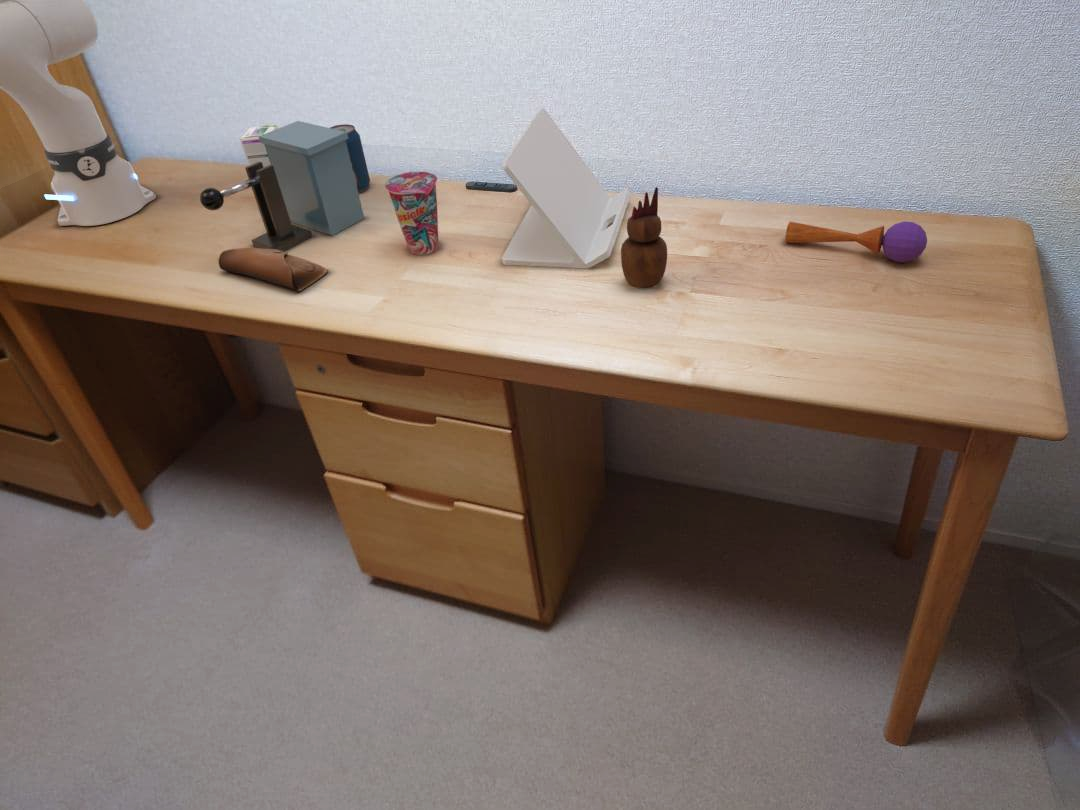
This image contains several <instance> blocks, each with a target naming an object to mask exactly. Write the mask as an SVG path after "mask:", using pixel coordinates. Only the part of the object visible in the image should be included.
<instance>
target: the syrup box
mask: <svg viewBox="0 0 1080 810" xmlns="http://www.w3.org/2000/svg"><path fill="white" fill-rule="evenodd" d="M278 128H279V126H278V125H271V124H269V125H268V124H267V125H257V126H253V127H249V128H248V130H247V131H246V132H245V133H244V134H243V135H242V136H241V137H240V138H239V141H240V144H241V147H242V150H243V153H244V156H245V158H246V161H247V166H250V165H252V164H255V163H257V162H262V164H263V167H266V166H268V165H271V164H270V161H269V158H268V155H267V152H266V148H265V145H264V144H263V143H260V140H259V136H261V135H263V134H266V133H268V132H271V131H273V130H276V129H278Z"/></svg>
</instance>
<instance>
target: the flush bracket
mask: <svg viewBox="0 0 1080 810" xmlns="http://www.w3.org/2000/svg"><path fill="white" fill-rule="evenodd" d="M244 169H245V172H246V175H247V178H248V180H249V179H251V178H253V177H255V174H256V172H257V175H258V178H259V182H260V183H259V184H256V185H254V186H252V187H251V190H252V193H253V195H254V199H255V202H256V205H257V209H258V210H259V215H260V217H261V220H262V223H263V226H264V229H265V233H263V234H261V235H259V236H257V237H255V238H253V239H251V243H252V245H253V247H254V248H263V249H276V250H281V251H284V252H287V250H289V249H292V248H294V247H295V246H297V245H299V244H301V243H303V242H305V241H307V240H309V239H311V238H313V233H312V230H310V229H307V228H305V227H301V226H300V225H299V226H298V225H297V224H292V222H291V221H290V218H289V215H288V212H287V209H286V205H285V202H284V199H283V196H282V192H281V189H280V186H279V183H278V180H277V176H276V173H275V170H274V167H273V165H268V166H266V167H263V164H262V162H257V163H255V164H252V165H250V166H249V165H247V166H245V167H244Z"/></svg>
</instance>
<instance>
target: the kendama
mask: <svg viewBox="0 0 1080 810" xmlns="http://www.w3.org/2000/svg"><path fill="white" fill-rule="evenodd" d="M785 242H786V243H787V244H791V243H793V244H794V243H849V242H850V243H852V242H853V243H854V242H856V243H857V244H859V245H861V246H862V247H864V248H866V249H868V250H870V251H872V252H874V253H875V254H877V255H879V254H880V252H881V249H882V250H883V253H884V254H885V255H886V257H887V259H890V260H892V261H893V262H896V263H909V262H912V261H914V260H916V259H917V258H920V256H922V255H923V253H924V251H925V250H926V248H927V245H928V244H927V243H928V238H927V232H926V231H925V229H924V228H923V226H922V225H919V224H918V223H916V222H914V221H906V220H905V221H901V222H897V223H894V224H893V225H892V226H890V227H888V229H887V230H886V231H885V226H884V225H882V226H878V227H875V228H873V229H870V230H867V231H864V232H863V231H862V232H860V233H853V232H849V231H847V232H846V231H842V230H837V229H832V228H828V227H821V226H817V225H816V226H815V225H811V224H807V223H806V224H805V223H802V222H801V223H800V222H795V221H789V222H788V224H787V226H786V230H785Z"/></svg>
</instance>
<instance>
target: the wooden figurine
mask: <svg viewBox="0 0 1080 810" xmlns="http://www.w3.org/2000/svg"><path fill="white" fill-rule="evenodd" d="M637 203H638V204H637V207H636V206H633V208H632V211H631V216H629V217H628V219H627V222H626V232H627V235H628V237H627V238H626V239H625V240H624V241H623V242H622V244H621V248H620V263H621V269H622V273H623V276H624V279H625V280H626V283H627V284H628V285H629V286H630V287H633V288H636V289H641V290H642V289H645V290H646V289H651V288H654V287H656V286H658V285H660V283H661V282H662V280H663V277H664V275H665V272H666V268H667V262H668V247H667V246H668V245H667V242H666V241H665V240H664V239H663V238H662V236H660V235H661V233H662V220H661V217H660V216H659V215H658V213H659V212H658V211H659V207H658V206H659V188H658V186H655V188H654V192H653V194H652V198H651V201H650V199H649V192H647V191H646V192H645V193H644V198H643V202H642V200H638V202H637Z"/></svg>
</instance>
